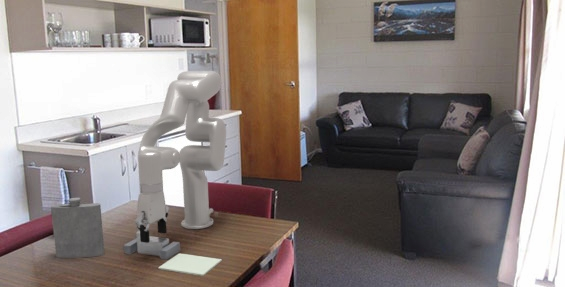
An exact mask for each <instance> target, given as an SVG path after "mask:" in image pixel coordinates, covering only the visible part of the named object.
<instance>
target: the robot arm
mask: <svg viewBox="0 0 565 287" xmlns="http://www.w3.org/2000/svg"><path fill="white" fill-rule="evenodd" d="M221 87H222V78H221V75H220V74H219V73H218V72H217V71H215V70H187V71H181V72H180V73H178V76H177V79H176V80H173V81H171V83H169V85H168V88H167V92H166V95H165V99H164V103H163V107H162V108H161V109H162V110H161V114H160V117H159V118H158V119H156V121H154V122H153V123H152V124H151V125H150V126H149V127H148V128H147V130H146V131H145V133H144V134H143V135H142V138H141V141H140V144H139V147H138V153H137V163H138V166H137V168H138V180H139V182H138V183H139V194H138V198H137V217H136V219H135V220H134V222H135V225H136V228H137V229H138V231H140V241H141V242H145V243H149V242H150V239H149V236H150V230H149V227H150V225H151V224H153V223H155V222H156V223H157V233H158V234H167V221H168V216H169V209H170V207H169V206H168V205H166V200H165V199H166V198H165V193H164V181H163V171H164V170H173V169H175V168H176V167H177V166H178V165H180V170H181V174H182V176H181V177H182V189H183V190H182V191H183V207H184V208H183V210H184V219H182V221H181V223H180V226H181V227H182V228H184V229H189V230H199V229H200V230H201V229H206V228H209V227H211V226H212V225H213V224H214V218H212V217H210V215H212V214H213V213H214V209H213V208H212V207H211V208H210V207H209V204H210V203H209V183H208V178H207V175H206V173H205V171H206V172H207V171H209V172H218V171H220V170H222V168H223V167H224V163H225V152H226V142H227V127H226V123H225V122H224V121H223V119H221V118H218V117H210V104H209V101H208V100H210V99H211V98H212V97H214V96H215V95H217V93H218V92H219V91H220V89H221ZM184 124H185V134H184V135H185V137H186V139H187V140H188V141H190V142H194V143H195V142H196V143H209V144H210V145H199V144H198V145H197V144H193V145H191V144H190V145H189V144H188V145H185V146H183V147H182V148H180V150H178V149H176V148H175V147H171V146H156V144H157V141H158V140H159V139H160V138H161V137H162V136H164V135H166V134H168V133H169V132H172V131H175V130H176V129H178V128H181V127H182V126H183V125H184Z"/></svg>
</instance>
